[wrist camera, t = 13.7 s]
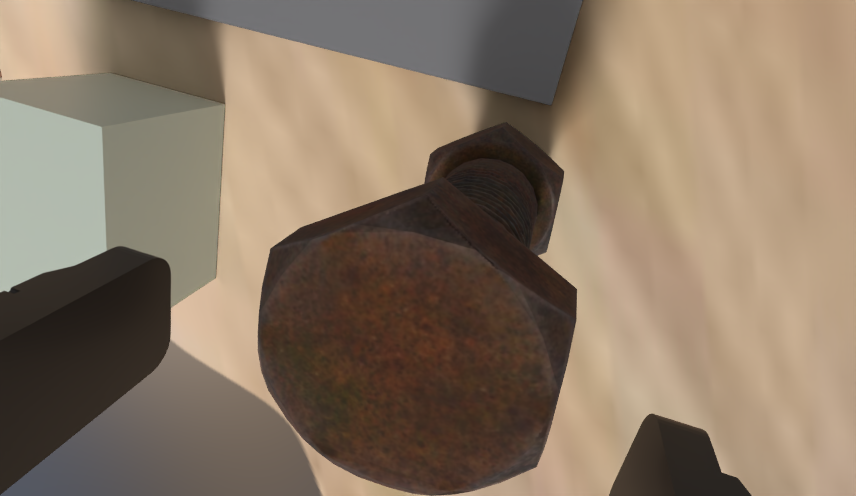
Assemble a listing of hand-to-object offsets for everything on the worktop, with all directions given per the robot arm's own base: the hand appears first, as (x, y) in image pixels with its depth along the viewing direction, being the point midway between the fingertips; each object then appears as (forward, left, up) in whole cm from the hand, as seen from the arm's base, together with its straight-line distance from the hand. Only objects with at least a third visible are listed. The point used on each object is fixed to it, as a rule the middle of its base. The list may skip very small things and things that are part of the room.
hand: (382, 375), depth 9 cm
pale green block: (+16, +5, -15) cm, 22 cm away
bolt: (0, 0, -15) cm, 15 cm away
